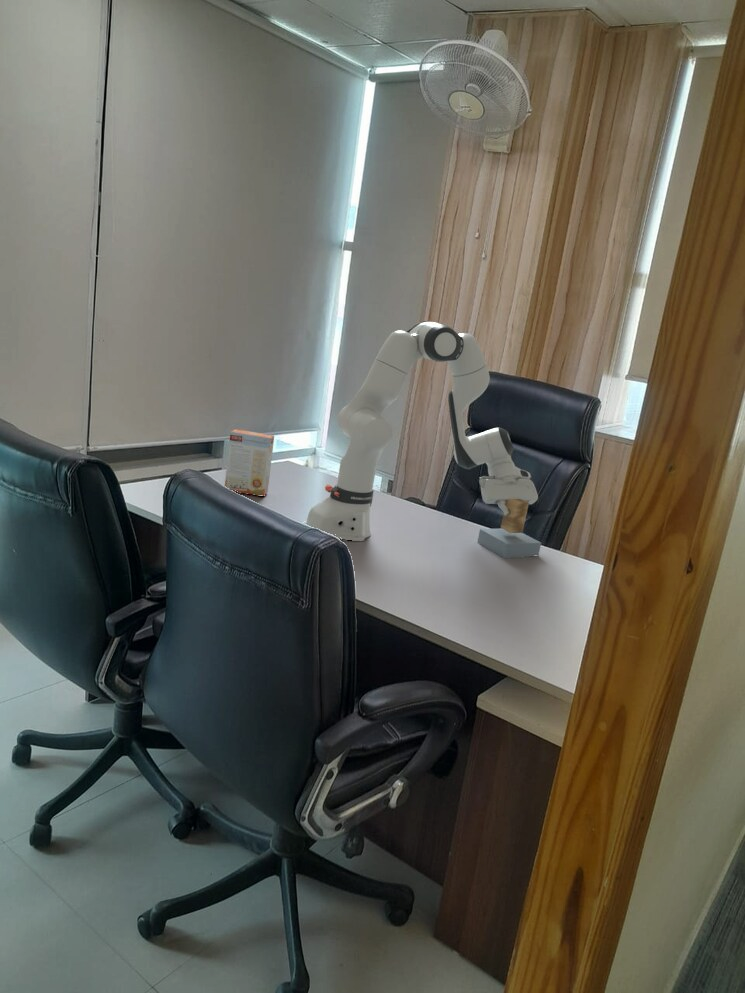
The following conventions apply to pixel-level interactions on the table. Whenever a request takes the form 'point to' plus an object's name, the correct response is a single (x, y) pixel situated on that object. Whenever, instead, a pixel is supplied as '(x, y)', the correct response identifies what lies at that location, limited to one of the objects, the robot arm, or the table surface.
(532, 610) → the table surface
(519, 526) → the oak block
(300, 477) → the table surface
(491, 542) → the grey base block
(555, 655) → the table surface
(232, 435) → the cracker box
